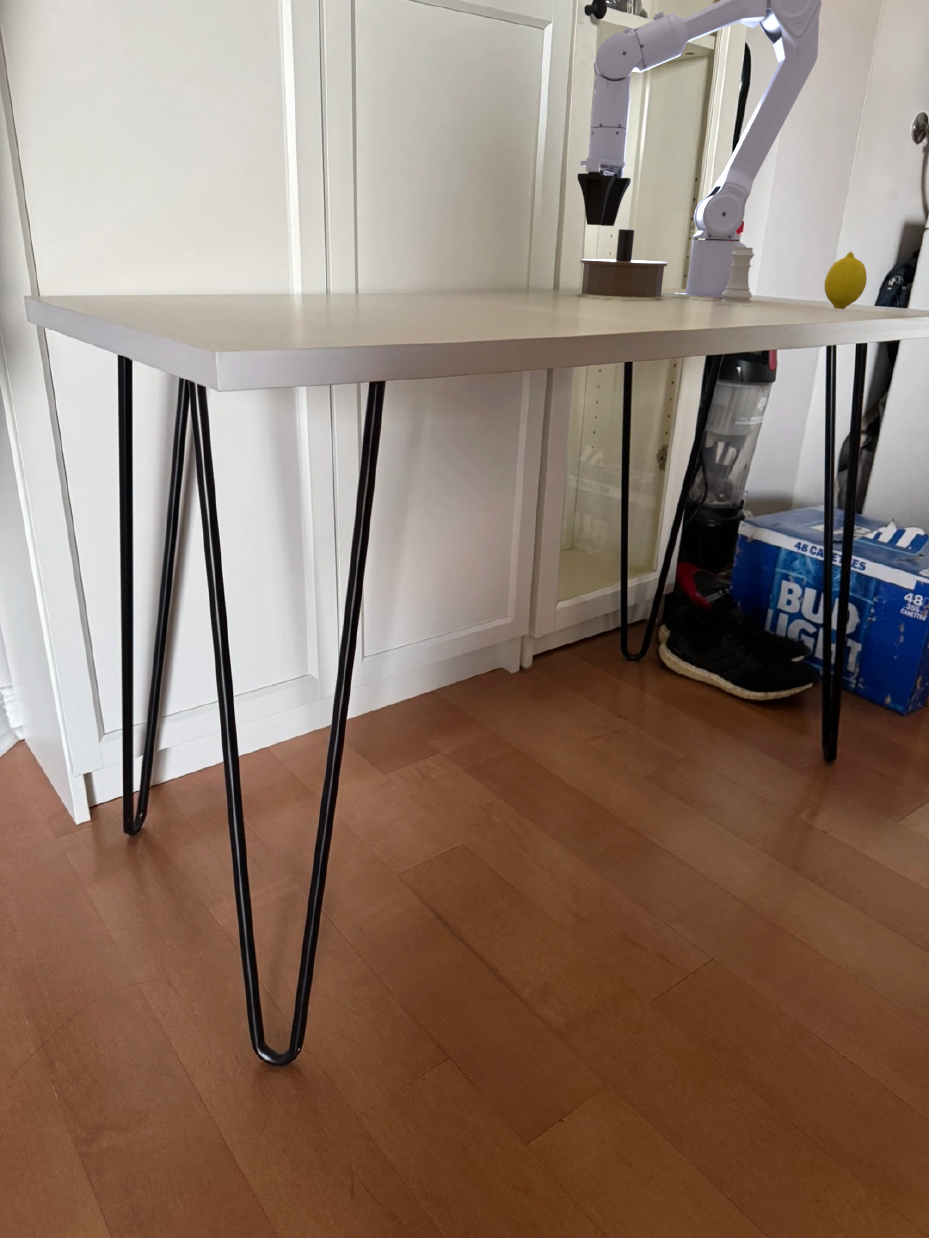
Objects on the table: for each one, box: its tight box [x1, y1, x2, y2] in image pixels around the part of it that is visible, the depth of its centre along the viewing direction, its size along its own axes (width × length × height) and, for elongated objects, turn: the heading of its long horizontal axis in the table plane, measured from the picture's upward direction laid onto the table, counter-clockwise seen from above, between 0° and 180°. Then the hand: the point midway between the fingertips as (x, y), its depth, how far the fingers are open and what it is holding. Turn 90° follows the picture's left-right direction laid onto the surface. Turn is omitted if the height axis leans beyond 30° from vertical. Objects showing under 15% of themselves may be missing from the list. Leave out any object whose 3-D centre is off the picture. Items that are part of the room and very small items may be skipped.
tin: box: [581, 263, 665, 298], centre depth 139 cm, size 12×12×5 cm
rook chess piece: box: [720, 246, 755, 304], centre depth 130 cm, size 4×4×8 cm
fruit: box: [823, 251, 868, 310], centre depth 127 cm, size 6×6×8 cm
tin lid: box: [579, 228, 668, 267], centre depth 138 cm, size 14×14×6 cm
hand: (600, 225), depth 142 cm, fingers open, 7 cm apart
